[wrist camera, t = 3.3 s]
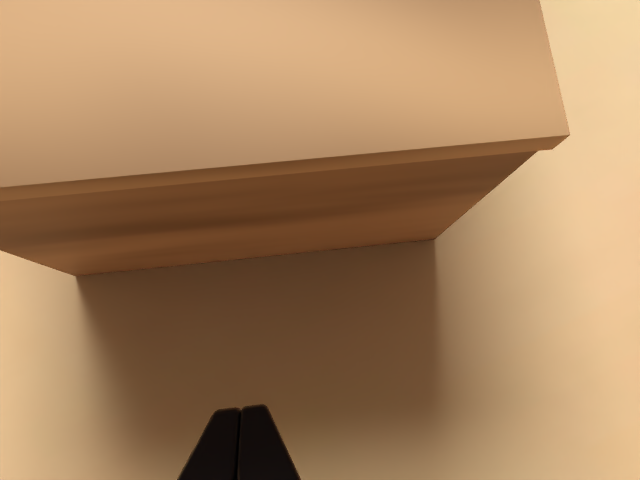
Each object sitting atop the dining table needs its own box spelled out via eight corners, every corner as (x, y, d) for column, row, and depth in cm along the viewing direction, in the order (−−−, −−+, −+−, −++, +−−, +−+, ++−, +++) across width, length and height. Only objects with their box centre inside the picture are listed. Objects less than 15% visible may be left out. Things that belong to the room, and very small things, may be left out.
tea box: (437, 242, 16) (570, 134, 8) (73, 280, 16) (-167, 202, 8) (391, -36, 18) (461, -336, 10) (70, -13, 18) (-120, -315, 10)
